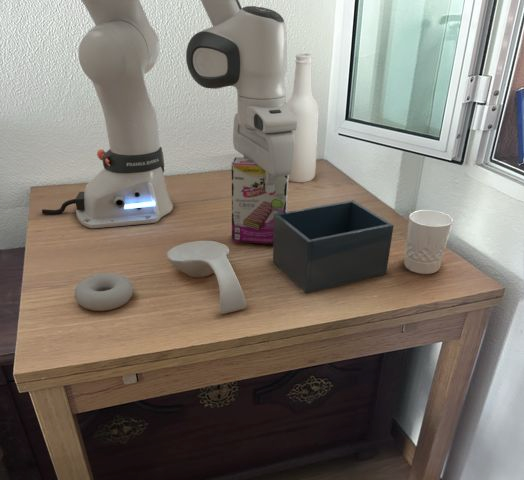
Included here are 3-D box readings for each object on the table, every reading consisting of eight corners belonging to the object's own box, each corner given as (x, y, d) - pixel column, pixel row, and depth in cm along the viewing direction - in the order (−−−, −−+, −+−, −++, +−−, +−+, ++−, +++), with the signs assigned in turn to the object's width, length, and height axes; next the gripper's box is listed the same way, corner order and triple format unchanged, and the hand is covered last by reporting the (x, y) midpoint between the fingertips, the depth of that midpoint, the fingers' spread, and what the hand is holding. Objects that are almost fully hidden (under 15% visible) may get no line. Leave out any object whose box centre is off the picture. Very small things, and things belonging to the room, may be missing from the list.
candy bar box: (231, 243, 113) (230, 163, 104) (234, 233, 117) (233, 156, 108) (284, 246, 113) (288, 166, 103) (286, 236, 117) (289, 158, 107)
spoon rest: (161, 263, 107) (156, 229, 103) (216, 251, 111) (214, 218, 107) (203, 321, 90) (200, 283, 86) (266, 305, 94) (267, 268, 90)
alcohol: (278, 174, 151) (280, 53, 134) (306, 171, 154) (312, 51, 136) (291, 184, 145) (295, 58, 127) (320, 180, 147) (328, 56, 130)
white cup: (393, 261, 108) (400, 213, 102) (425, 254, 110) (434, 207, 105) (417, 279, 102) (426, 229, 96) (451, 271, 105) (462, 222, 99)
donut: (137, 285, 100) (81, 286, 99) (134, 268, 98) (78, 269, 97) (131, 314, 92) (70, 315, 91) (128, 296, 90) (66, 298, 89)
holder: (305, 293, 98) (308, 242, 92) (272, 262, 108) (273, 214, 102) (386, 274, 104) (393, 224, 98) (348, 246, 114) (353, 200, 108)
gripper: (224, 101, 106) (226, 171, 114) (269, 125, 91) (267, 204, 100) (253, 98, 108) (253, 168, 117) (302, 122, 94) (297, 200, 102)
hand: (260, 185), depth 108 cm, fingers closed on candy bar box, 6 cm apart
